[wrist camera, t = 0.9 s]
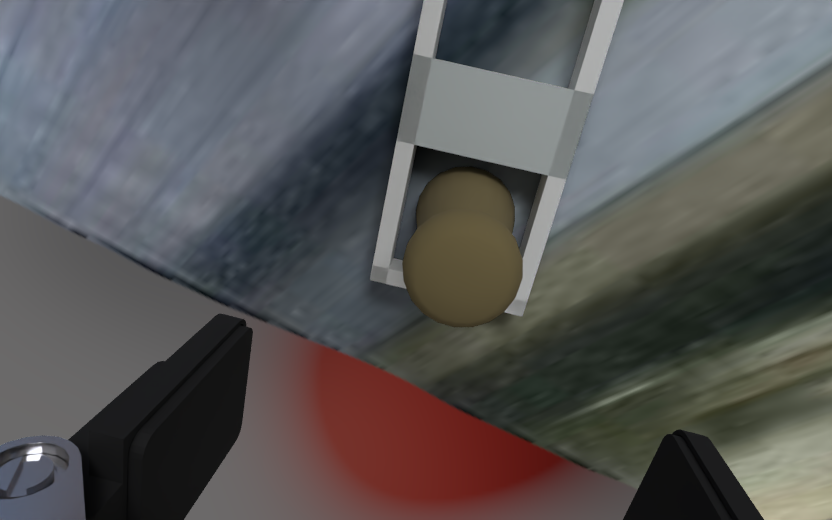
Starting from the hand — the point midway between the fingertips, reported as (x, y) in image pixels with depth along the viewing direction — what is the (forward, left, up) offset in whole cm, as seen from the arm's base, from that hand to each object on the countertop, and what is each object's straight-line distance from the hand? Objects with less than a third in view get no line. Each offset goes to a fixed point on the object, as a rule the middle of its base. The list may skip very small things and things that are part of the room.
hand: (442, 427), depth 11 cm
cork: (0, 0, -21) cm, 21 cm away
